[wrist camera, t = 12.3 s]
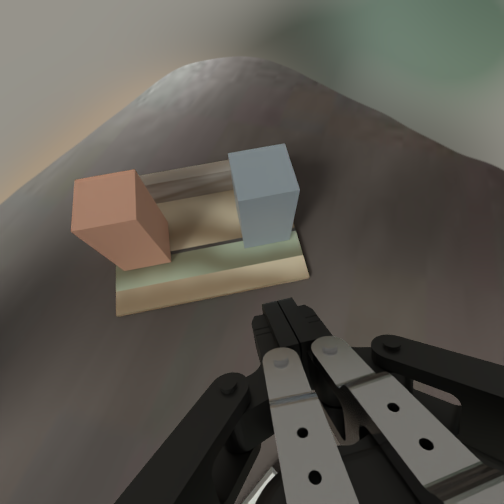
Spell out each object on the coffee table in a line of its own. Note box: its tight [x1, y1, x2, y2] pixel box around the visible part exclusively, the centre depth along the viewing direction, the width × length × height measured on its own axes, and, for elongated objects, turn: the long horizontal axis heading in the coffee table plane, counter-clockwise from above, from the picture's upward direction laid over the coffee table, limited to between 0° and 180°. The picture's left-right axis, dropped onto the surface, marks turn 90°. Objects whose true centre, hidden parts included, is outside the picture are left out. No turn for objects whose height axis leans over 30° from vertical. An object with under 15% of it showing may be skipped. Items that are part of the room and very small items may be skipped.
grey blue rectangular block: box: [228, 143, 300, 248], centre depth 27 cm, size 5×5×9 cm
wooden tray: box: [116, 160, 309, 317], centre depth 30 cm, size 14×20×4 cm
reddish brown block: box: [71, 169, 171, 271], centre depth 26 cm, size 5×5×9 cm
